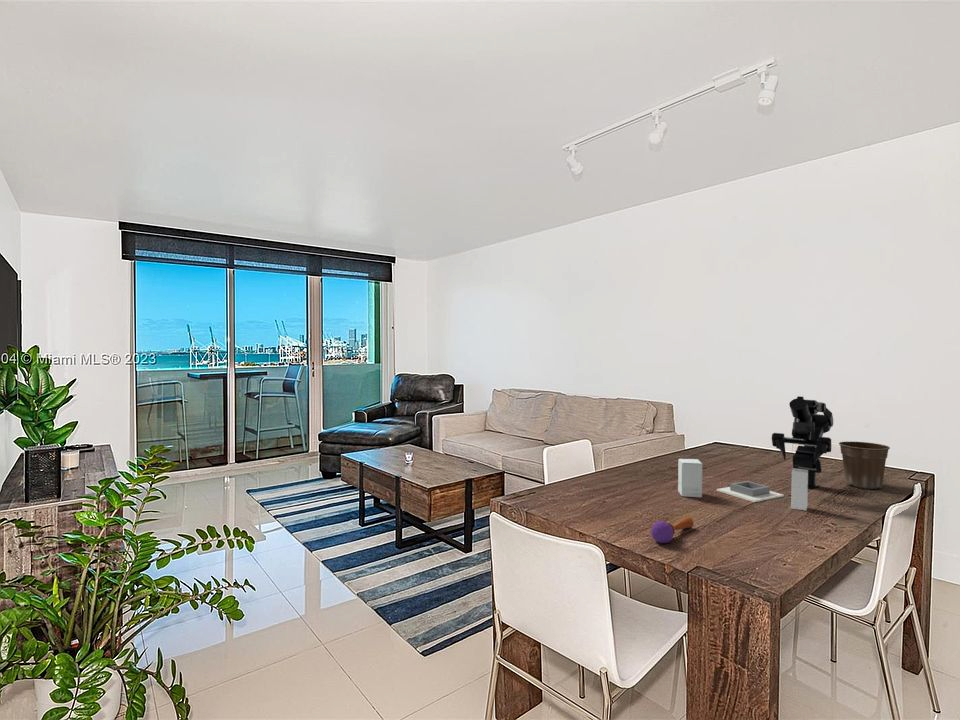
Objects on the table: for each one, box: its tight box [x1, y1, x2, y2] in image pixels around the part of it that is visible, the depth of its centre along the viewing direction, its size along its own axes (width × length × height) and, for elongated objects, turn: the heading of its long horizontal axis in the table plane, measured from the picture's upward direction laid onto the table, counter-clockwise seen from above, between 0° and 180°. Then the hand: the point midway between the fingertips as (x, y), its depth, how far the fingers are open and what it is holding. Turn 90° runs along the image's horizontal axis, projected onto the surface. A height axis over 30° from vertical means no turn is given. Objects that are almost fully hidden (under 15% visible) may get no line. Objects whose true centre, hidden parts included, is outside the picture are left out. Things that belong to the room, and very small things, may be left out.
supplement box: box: [677, 458, 703, 498], centre depth 195 cm, size 7×7×13 cm
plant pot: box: [838, 441, 891, 490], centre depth 207 cm, size 16×16×16 cm
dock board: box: [716, 480, 785, 503], centre depth 196 cm, size 16×16×4 cm
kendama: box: [650, 516, 695, 544], centre depth 154 cm, size 6×6×20 cm
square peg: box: [790, 468, 809, 512], centre depth 179 cm, size 4×4×13 cm
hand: (799, 461), depth 190 cm, fingers open, 9 cm apart
